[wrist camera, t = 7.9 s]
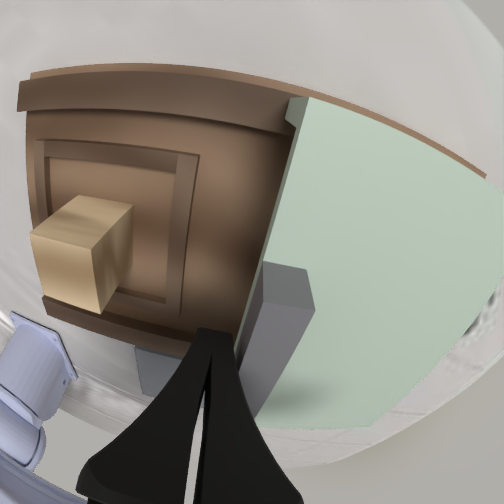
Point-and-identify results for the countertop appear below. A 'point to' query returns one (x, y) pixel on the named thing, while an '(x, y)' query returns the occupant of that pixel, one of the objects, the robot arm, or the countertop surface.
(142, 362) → the mat
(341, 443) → the countertop surface
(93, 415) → the countertop surface
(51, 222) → the block
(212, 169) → the puzzle board
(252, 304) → the cover
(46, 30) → the countertop surface
